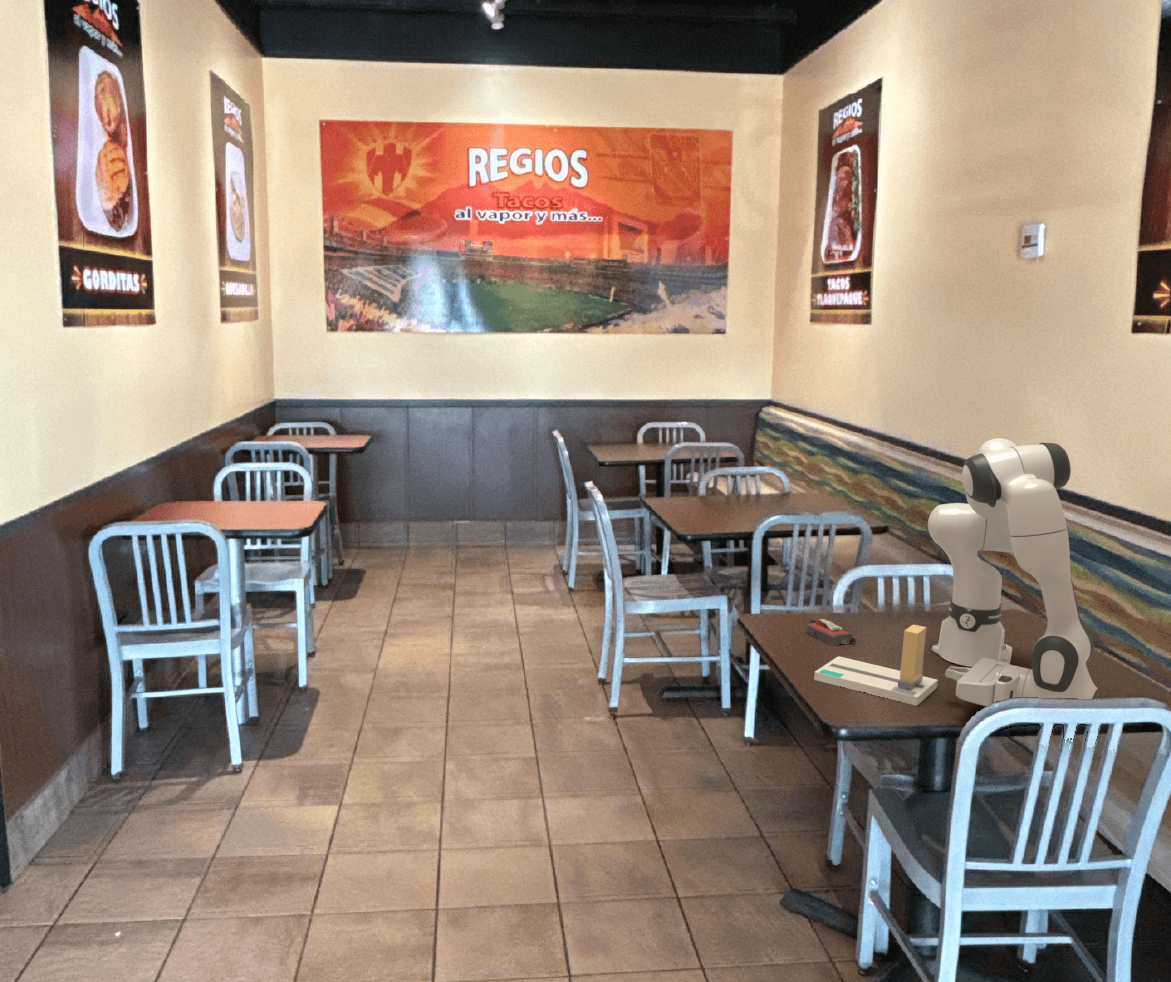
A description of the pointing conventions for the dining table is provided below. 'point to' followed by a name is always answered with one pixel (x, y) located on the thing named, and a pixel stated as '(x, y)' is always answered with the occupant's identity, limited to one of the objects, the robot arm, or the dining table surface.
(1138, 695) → the dining table surface
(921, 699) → the switch track
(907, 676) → the slider tab
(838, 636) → the red toggle switch
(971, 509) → the robot arm
